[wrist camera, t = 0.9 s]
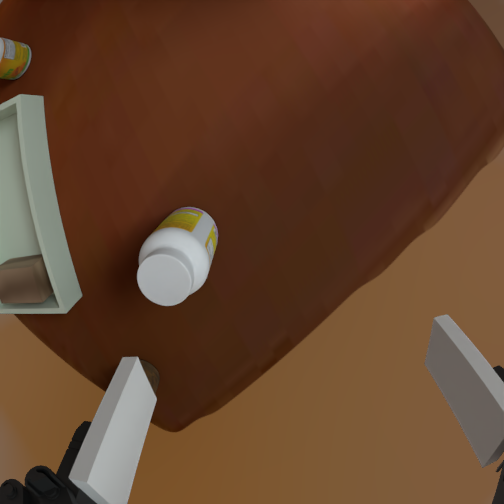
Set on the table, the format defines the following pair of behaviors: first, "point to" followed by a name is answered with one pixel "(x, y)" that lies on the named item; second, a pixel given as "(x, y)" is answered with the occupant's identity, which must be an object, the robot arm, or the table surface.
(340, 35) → the table surface
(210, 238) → the supplement bottle
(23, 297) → the walnut block
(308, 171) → the table surface
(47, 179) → the tote
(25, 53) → the supplement bottle
